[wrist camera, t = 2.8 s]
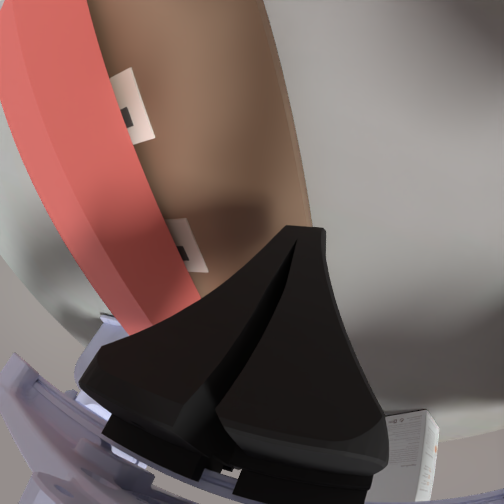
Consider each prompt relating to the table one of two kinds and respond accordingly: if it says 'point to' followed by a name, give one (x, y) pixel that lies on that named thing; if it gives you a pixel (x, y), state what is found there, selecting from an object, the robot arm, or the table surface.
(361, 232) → the table surface
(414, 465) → the small box
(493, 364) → the table surface
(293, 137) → the label board
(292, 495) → the robot arm
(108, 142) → the swing arm
